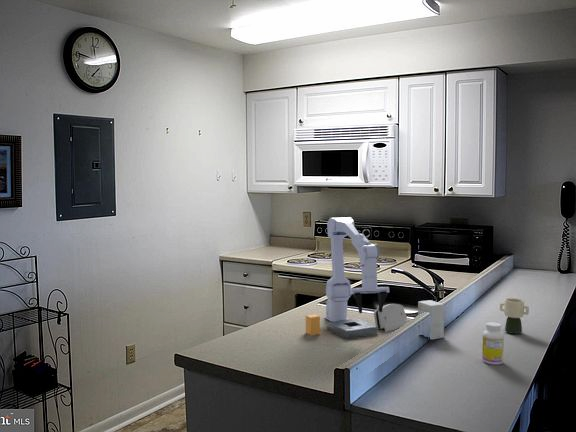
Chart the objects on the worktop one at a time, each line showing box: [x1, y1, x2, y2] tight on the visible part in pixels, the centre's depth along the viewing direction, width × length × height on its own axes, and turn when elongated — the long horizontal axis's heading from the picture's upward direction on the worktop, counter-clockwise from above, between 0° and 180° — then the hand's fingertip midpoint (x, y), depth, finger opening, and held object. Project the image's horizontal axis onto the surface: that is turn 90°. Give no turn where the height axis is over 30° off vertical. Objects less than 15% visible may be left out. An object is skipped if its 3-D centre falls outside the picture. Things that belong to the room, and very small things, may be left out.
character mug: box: [499, 297, 530, 334], centre depth 216 cm, size 11×7×13 cm, turn 52°
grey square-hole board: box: [327, 317, 378, 340], centre depth 218 cm, size 14×14×3 cm
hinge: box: [373, 303, 411, 333], centre depth 226 cm, size 17×5×10 cm, turn 131°
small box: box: [417, 299, 445, 340], centre depth 212 cm, size 8×6×13 cm
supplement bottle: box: [481, 321, 505, 366], centre depth 183 cm, size 7×7×13 cm
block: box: [305, 313, 321, 336], centre depth 216 cm, size 4×4×7 cm
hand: (370, 312), depth 209 cm, fingers open, 7 cm apart
